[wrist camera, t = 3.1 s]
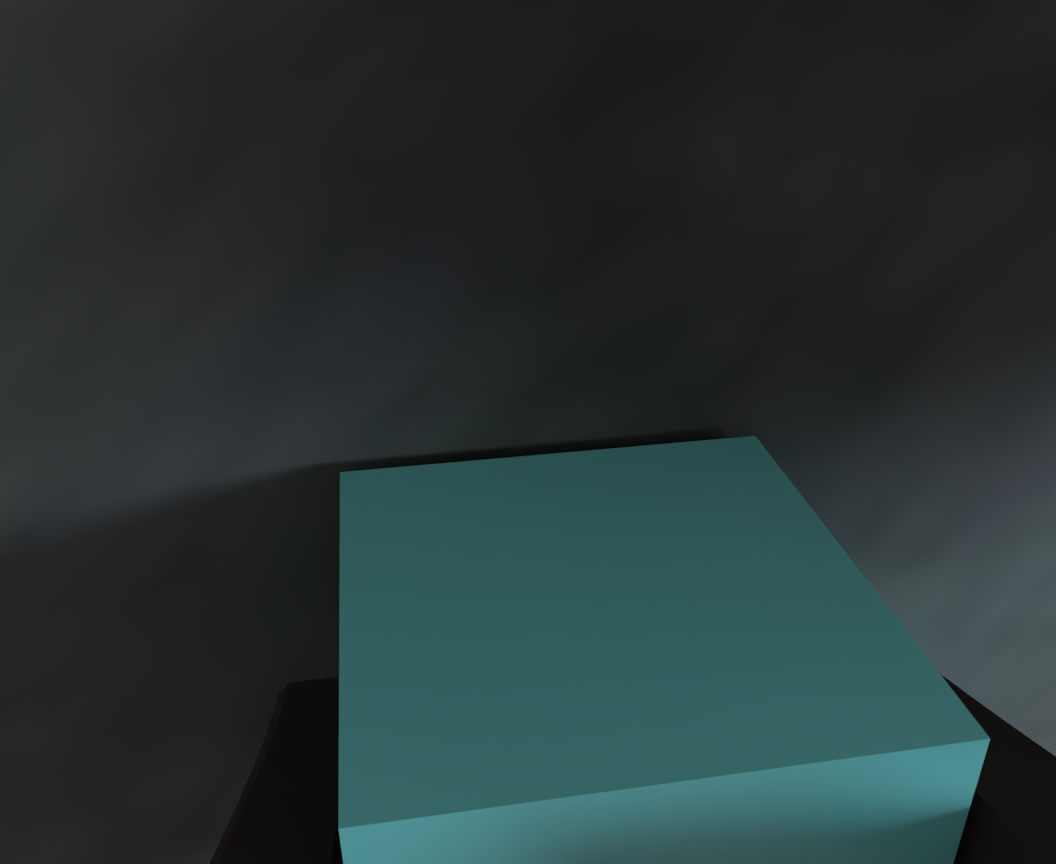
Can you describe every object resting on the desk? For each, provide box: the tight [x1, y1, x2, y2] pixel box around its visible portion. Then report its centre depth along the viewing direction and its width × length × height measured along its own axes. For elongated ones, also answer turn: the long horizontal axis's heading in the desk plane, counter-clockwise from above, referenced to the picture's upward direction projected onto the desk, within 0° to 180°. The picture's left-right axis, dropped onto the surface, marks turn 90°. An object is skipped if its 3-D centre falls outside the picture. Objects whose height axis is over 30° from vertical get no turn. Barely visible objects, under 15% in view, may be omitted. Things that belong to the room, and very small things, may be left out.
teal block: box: [338, 436, 990, 864], centre depth 10 cm, size 4×4×4 cm
